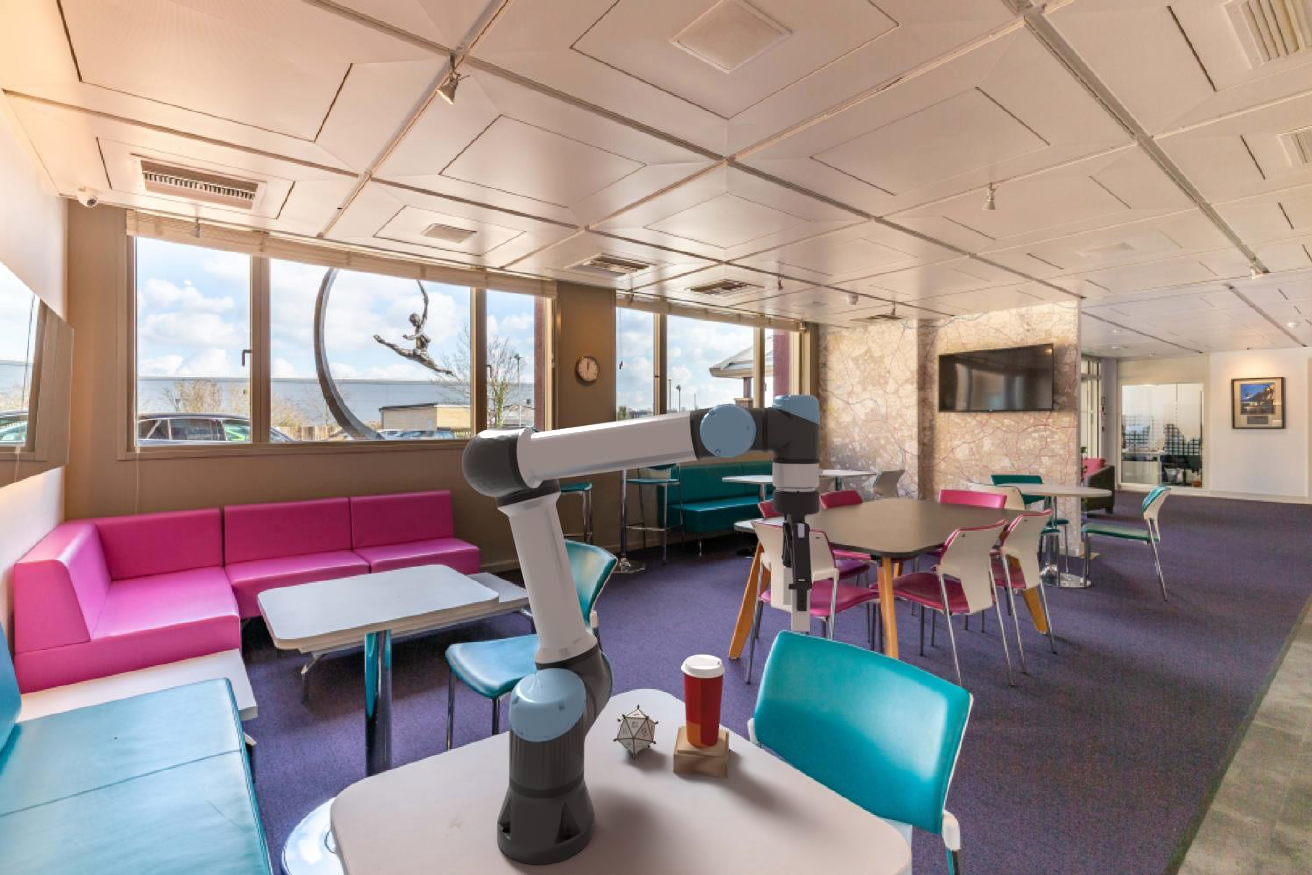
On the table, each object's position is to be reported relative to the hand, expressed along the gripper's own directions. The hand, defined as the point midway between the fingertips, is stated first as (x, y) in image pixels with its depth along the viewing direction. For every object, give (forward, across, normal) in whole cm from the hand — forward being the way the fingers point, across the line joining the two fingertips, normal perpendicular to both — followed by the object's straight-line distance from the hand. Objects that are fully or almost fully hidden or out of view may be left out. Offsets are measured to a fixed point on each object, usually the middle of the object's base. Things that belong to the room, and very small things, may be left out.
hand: (795, 616), depth 100 cm
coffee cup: (+29, +13, +16) cm, 35 cm away
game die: (+32, +15, +29) cm, 46 cm away
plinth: (+32, +13, +16) cm, 38 cm away
